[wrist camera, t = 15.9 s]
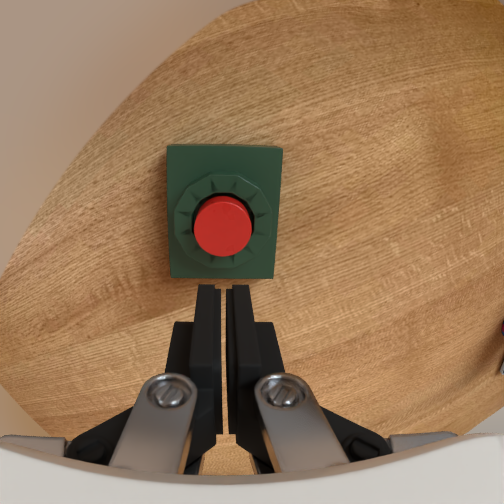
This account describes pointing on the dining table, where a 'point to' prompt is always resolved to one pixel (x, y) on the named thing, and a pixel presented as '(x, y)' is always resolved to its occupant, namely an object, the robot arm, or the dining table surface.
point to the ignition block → (223, 184)
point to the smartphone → (502, 369)
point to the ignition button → (222, 226)
